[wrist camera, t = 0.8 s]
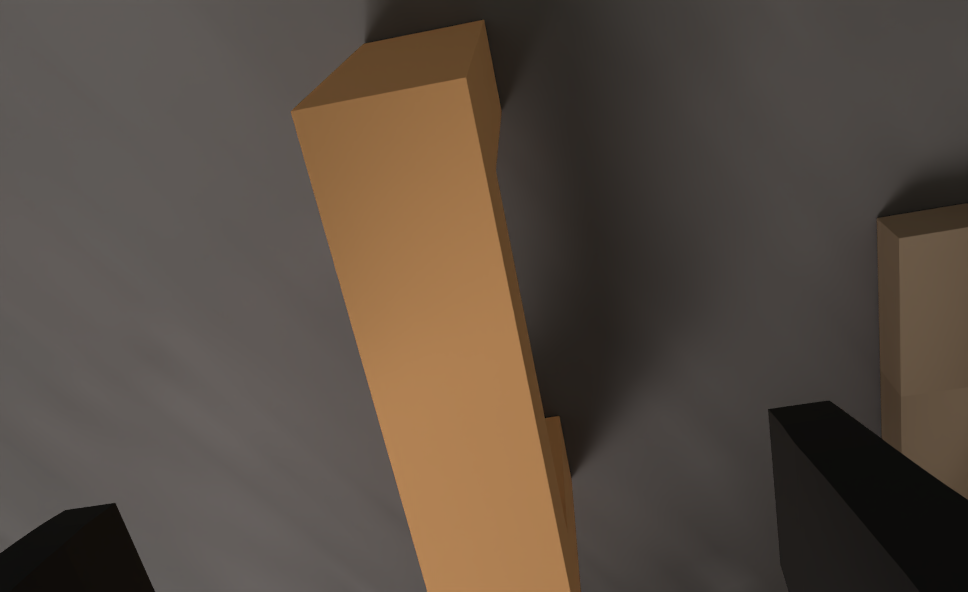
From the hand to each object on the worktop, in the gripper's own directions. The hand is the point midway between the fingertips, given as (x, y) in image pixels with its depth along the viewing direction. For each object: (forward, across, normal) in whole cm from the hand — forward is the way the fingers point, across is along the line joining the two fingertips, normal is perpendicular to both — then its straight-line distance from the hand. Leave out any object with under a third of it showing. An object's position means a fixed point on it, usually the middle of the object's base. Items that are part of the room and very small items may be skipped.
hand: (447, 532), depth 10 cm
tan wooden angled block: (+7, 0, 0) cm, 7 cm away
